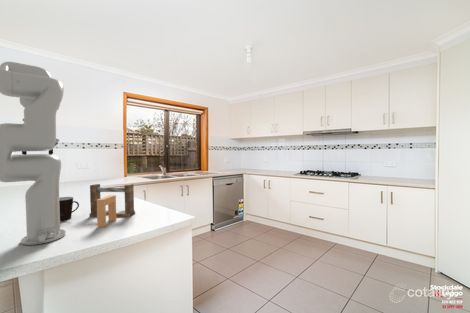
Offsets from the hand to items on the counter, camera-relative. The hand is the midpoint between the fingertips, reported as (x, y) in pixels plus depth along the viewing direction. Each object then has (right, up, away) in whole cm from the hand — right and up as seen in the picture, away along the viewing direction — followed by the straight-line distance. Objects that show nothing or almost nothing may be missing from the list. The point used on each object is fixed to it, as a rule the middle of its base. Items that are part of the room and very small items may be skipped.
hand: (38, 155), depth 112 cm
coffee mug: (+19, -31, -7) cm, 37 cm away
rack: (+38, -30, 0) cm, 49 cm away
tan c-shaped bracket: (+43, -31, -13) cm, 54 cm away
